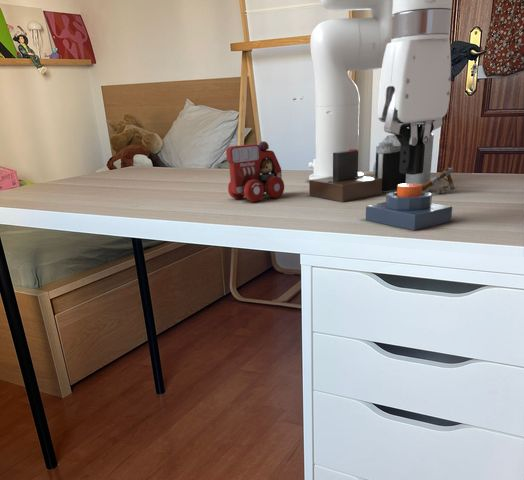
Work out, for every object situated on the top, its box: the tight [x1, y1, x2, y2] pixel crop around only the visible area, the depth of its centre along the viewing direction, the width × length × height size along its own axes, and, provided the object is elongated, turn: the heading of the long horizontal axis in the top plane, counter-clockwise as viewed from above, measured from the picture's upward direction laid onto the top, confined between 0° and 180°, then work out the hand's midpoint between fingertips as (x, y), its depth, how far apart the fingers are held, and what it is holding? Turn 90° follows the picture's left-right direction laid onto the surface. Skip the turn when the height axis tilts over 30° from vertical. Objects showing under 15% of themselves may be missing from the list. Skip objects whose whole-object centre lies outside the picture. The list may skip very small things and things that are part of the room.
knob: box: [333, 149, 359, 181], centre depth 101 cm, size 5×2×5 cm, turn 123°
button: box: [396, 183, 422, 197], centre depth 79 cm, size 4×4×2 cm
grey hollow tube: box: [406, 133, 435, 192], centre depth 101 cm, size 4×4×10 cm
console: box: [308, 175, 383, 203], centre depth 103 cm, size 10×10×3 cm
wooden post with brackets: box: [422, 167, 456, 194], centre depth 99 cm, size 2×8×4 cm, turn 106°
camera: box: [372, 134, 406, 193], centre depth 108 cm, size 15×7×10 cm, turn 131°
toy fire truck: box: [225, 141, 285, 203], centre depth 103 cm, size 7×12×10 cm, turn 128°
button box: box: [365, 190, 453, 231], centre depth 80 cm, size 10×8×4 cm
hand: (410, 173), depth 78 cm, fingers closed
